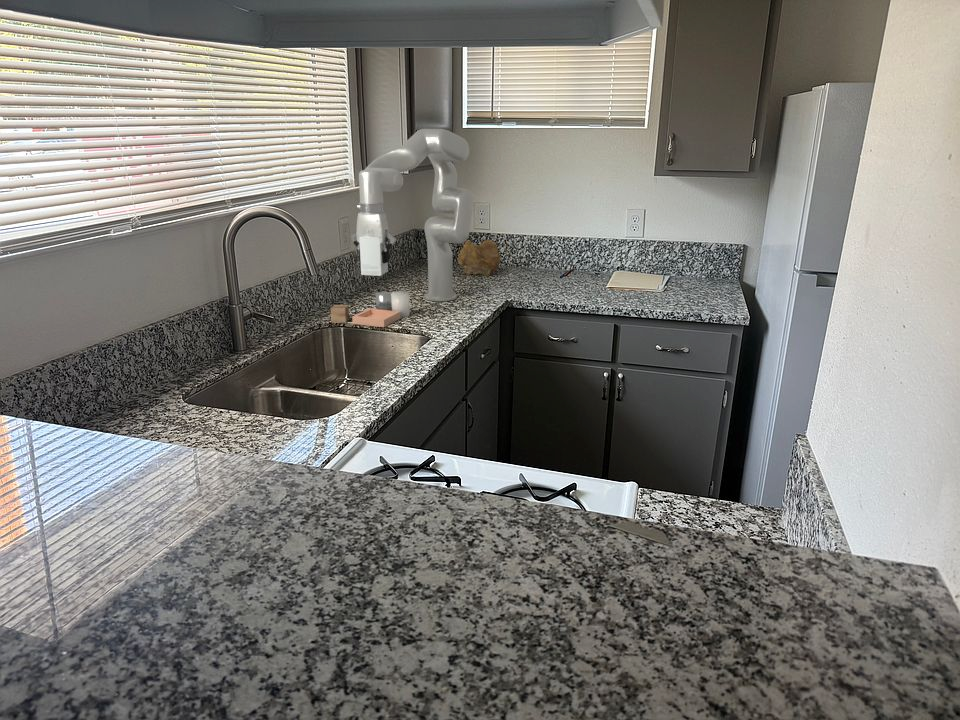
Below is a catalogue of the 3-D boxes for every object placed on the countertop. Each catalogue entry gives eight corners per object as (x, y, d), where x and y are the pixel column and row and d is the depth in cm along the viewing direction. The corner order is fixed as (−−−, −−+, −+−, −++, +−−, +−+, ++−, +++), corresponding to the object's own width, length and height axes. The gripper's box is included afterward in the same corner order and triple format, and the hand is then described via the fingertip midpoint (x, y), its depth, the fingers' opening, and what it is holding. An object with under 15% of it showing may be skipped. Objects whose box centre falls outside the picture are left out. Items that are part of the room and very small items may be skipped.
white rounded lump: (397, 312, 252) (396, 290, 250) (412, 313, 250) (412, 291, 248) (388, 316, 247) (387, 294, 244) (405, 318, 244) (404, 295, 242)
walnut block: (335, 318, 243) (334, 304, 242) (349, 319, 243) (348, 305, 241) (331, 322, 239) (330, 308, 237) (345, 323, 238) (344, 308, 237)
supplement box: (381, 276, 231) (380, 238, 227) (360, 275, 232) (358, 237, 228) (388, 271, 238) (387, 234, 234) (368, 270, 239) (366, 234, 235)
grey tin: (381, 307, 259) (380, 291, 257) (395, 308, 257) (395, 292, 255) (373, 310, 254) (372, 294, 252) (387, 312, 252) (387, 296, 250)
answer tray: (370, 315, 248) (369, 308, 247) (400, 318, 244) (400, 311, 243) (352, 323, 237) (352, 316, 236) (384, 327, 233) (383, 320, 232)
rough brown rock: (480, 282, 305) (483, 248, 300) (452, 273, 314) (454, 241, 309) (512, 275, 322) (515, 243, 317) (484, 267, 332) (487, 236, 327)
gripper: (342, 208, 228) (345, 261, 233) (390, 211, 222) (392, 265, 227) (354, 206, 234) (357, 258, 240) (400, 208, 229) (402, 261, 234)
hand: (374, 261), depth 234 cm, fingers closed on supplement box, 8 cm apart
